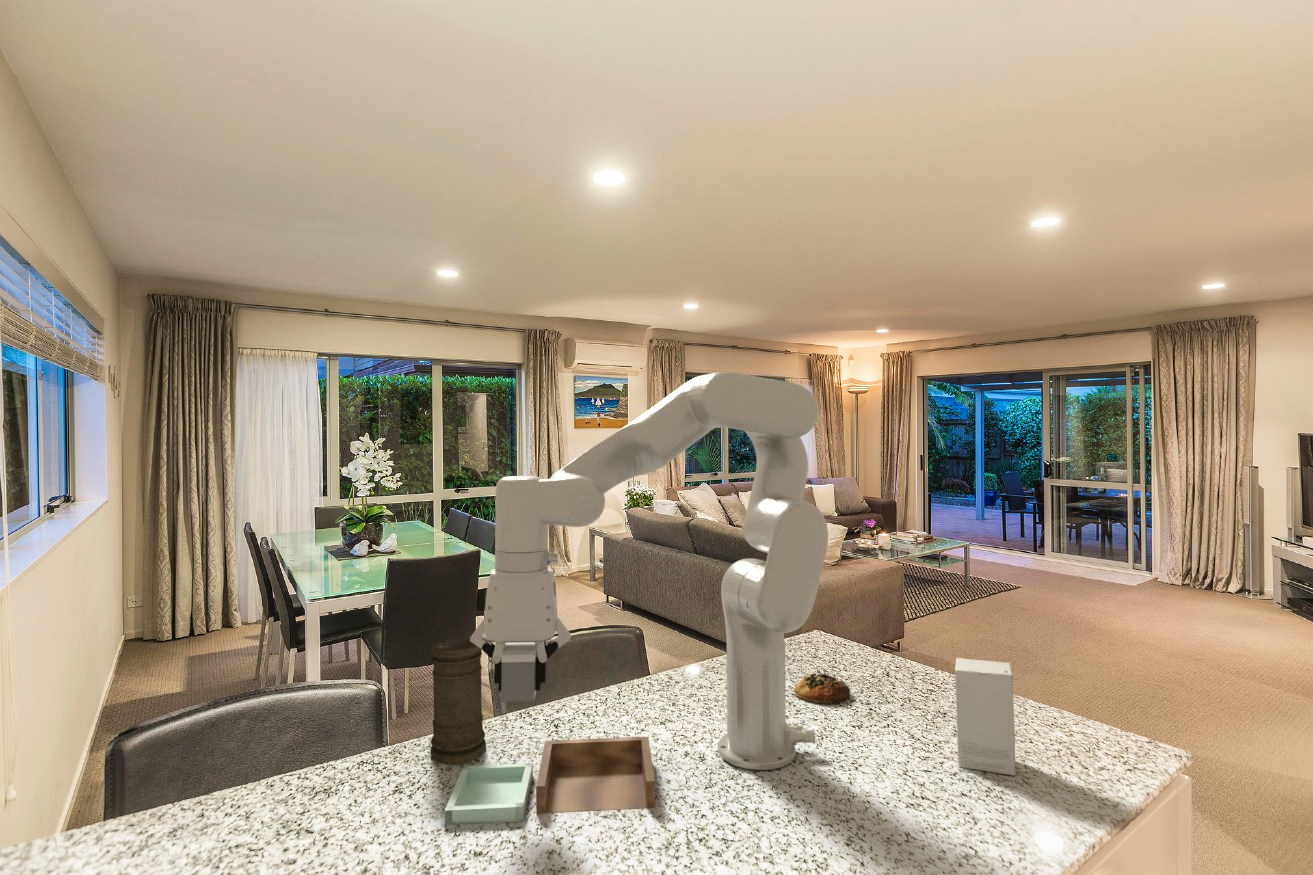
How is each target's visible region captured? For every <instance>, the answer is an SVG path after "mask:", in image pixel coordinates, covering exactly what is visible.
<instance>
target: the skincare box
mask: <svg viewBox="0 0 1313 875" xmlns="http://www.w3.org/2000/svg"><path fill="white" fill-rule="evenodd" d="M955 659H956V661H955V665H954V666H955V667H954V676H955V677H954V678H955V703H956V704H955V706H956V707H955V708H956V710H955V711H956V729H957V730H956V733H957V734H956V737H957V739H956V740H957V760H958V762H957V763H958V768H963V769H969V770H975V771H981V772H989V773H995V774H1003V775H1007V776H1016V774H1017V773H1016V742H1015V741H1016V737H1015V736H1016V734H1015V731H1016V730H1015V715H1014V714H1015V712H1014V711H1015V710H1014V709H1015V708H1014V706H1015V705H1014V682H1013V681H1014V680H1013V679H1014V675H1013V670H1012V666H1011V663H1010V662H1002V661H995V660H994V661H992V660H984V659H983V660H981V659H973V658H972V659H970V658H961V657H956V658H955Z"/></svg>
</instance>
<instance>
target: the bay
mask: <svg viewBox="0 0 1313 875" xmlns="http://www.w3.org/2000/svg"><path fill="white" fill-rule="evenodd" d="M649 738H650V737H649V736H632V737H631V736H629V737H626V736H625V737H607V738H606V737H604V738H603V737H602V738H580V739H579V738H577V739H558V740H556V739H555V740H545V741H544V743H543V748H542V749H543V750H542V754H541V759H540V764H539V770H538V775H537V780H536V784H535V803H536V804H535V808H536V809H535V810H536V811H535V813H536V814H539V815H540V814H552V813H553V814H557V813H574V812H596V811H615V810H637V809H638V810H639V809H640V810H641V809H655V808H656V798H655V797H656V791H655V790H656V789H655V788H656V780H655V773H654V768H653V761H652V760H653V759H652V753H651V745H650V739H649Z"/></svg>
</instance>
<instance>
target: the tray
mask: <svg viewBox="0 0 1313 875" xmlns="http://www.w3.org/2000/svg"><path fill="white" fill-rule="evenodd" d="M533 766H534V763H533V762H530V763H529V762H525V763H524V762H522V763H505V764H504V763H503V764H483V765H482V764H480V765H463V766H462V769H461V771H460V773H459V776H458V777H457V781H456V783H455V785H454V788H453V790H452V792H451V795H450V796H449V799H448V801H447V804H446V806H445V809H444V827H446V826H448V825H449V826H450V825H451V826H452V825H454V826H455V825H470V824H472V825H474V824H475V825H476V824H491V823H492V824H493V823H511V822H514V823H516V822H523V821H524V818H525V814H526V810H527V805H528V800H529V796H530V790H531V786H532V781H533V776H534V767H533Z"/></svg>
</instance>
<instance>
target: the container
mask: <svg viewBox="0 0 1313 875" xmlns="http://www.w3.org/2000/svg"><path fill="white" fill-rule="evenodd" d="M470 637H471V636H469V637H468V636H466V637H465V636H459V637H451V638H447V639H446V638H445V639H442V640H438V641H436V642H435V643H433V644H432V645H431V647H430V654H431V655H432V658H431V659H432V662H433V670H432V672H431V673H432V675H433V676H432V678H433V679H432V680H433V685H432V686H433V688H432V689H433V690H432V691H433V719H432V727H433V729H432V730H433V735H432V738H431V739H430V744H431V747H430V750H429V752H430V756H431V759H432V760H433V761H435V762H437V763H439V764H447V765H448V764H449V765H457V764H465V763H468V762H471V761H473V760H474V759H476V758H478V757H479V756H482V755H483V753H484V752H486V748H487V742H486V739H485V737H486V733H485V731H484V728H483V720H484V719H483V718H484V715H483V712H482V710H483V709H482V670H483V669H482V668H483V667H482V664H481V662H482V661H481V658H482V654H483V652H482V651H483V650H482V649H481V648H479V647H478V646H476V645H475V644H474V643H472V642H471V641H470Z"/></svg>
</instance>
